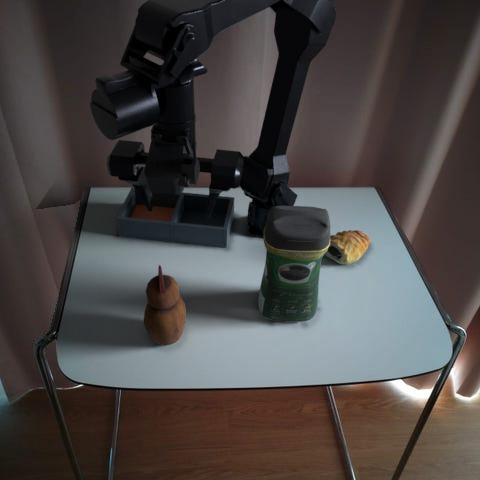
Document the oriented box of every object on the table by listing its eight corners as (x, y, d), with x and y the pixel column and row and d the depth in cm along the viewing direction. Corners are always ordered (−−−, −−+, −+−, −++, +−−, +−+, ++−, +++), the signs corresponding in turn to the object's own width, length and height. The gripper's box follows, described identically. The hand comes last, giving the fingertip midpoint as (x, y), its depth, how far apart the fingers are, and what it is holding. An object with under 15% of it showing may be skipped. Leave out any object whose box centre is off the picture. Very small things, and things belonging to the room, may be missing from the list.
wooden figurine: (179, 355, 74) (172, 281, 63) (142, 348, 75) (129, 274, 64) (191, 322, 78) (187, 248, 67) (156, 316, 79) (146, 242, 68)
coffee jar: (313, 291, 84) (332, 198, 71) (317, 326, 79) (338, 232, 65) (257, 289, 84) (265, 195, 71) (256, 323, 79) (265, 228, 65)
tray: (234, 214, 99) (234, 197, 96) (226, 247, 92) (227, 230, 89) (133, 204, 100) (131, 187, 97) (119, 236, 93) (116, 218, 90)
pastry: (349, 232, 96) (353, 216, 93) (377, 250, 93) (382, 233, 90) (317, 252, 92) (320, 236, 89) (345, 271, 88) (350, 254, 86)
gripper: (83, 137, 60) (105, 239, 72) (235, 151, 59) (232, 253, 71) (111, 98, 68) (126, 196, 79) (246, 110, 67) (242, 208, 78)
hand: (179, 213), depth 77 cm, fingers open, 9 cm apart
